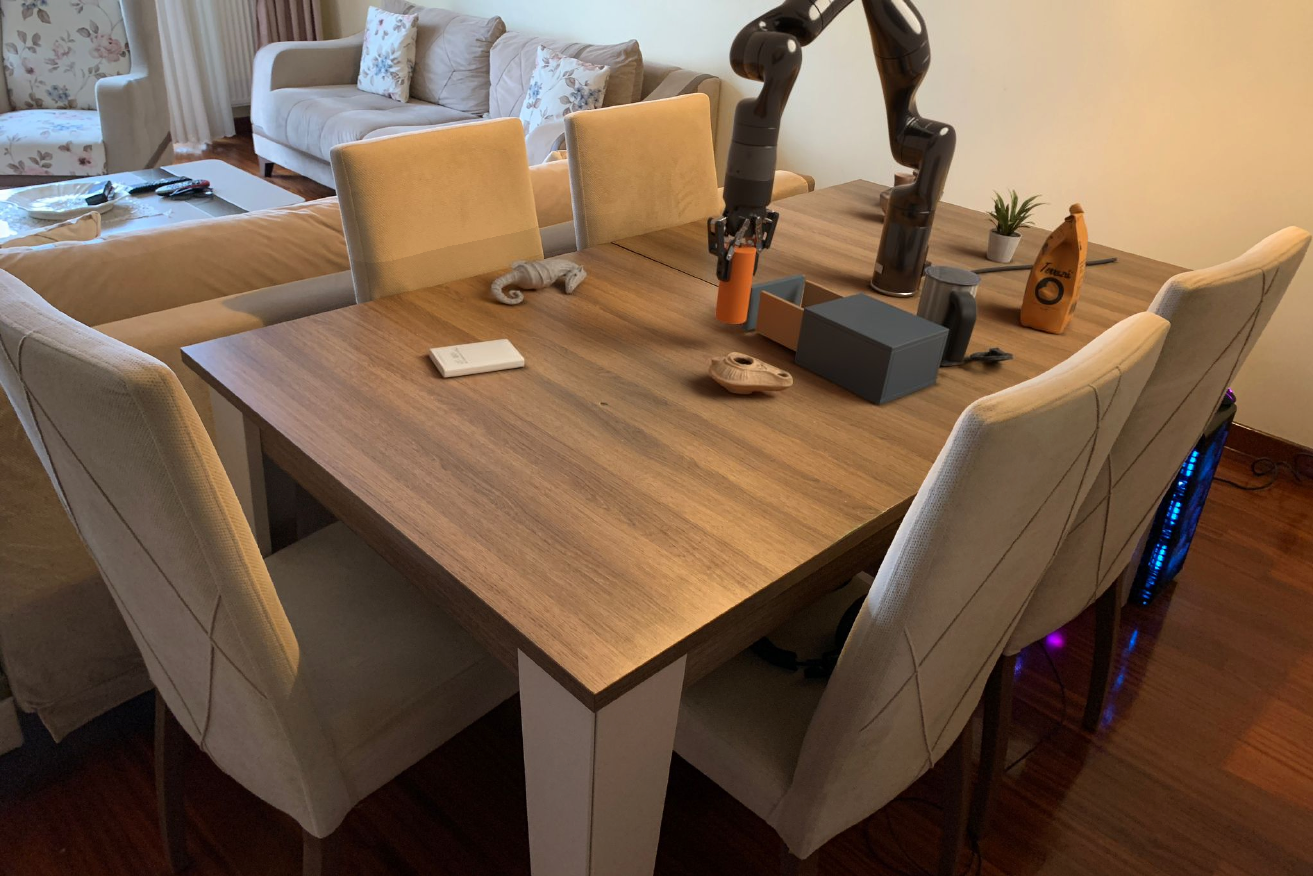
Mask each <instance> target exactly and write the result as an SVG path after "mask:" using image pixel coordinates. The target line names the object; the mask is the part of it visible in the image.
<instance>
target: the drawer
mask: <svg viewBox="0 0 1313 876" xmlns="http://www.w3.org/2000/svg"><path fill="white" fill-rule="evenodd" d="M844 297H848V295H844V294H842V293H840V292H838V291H835V290H833V289H831V288H828V287H825V286H824V285H821V284H819V283H816V282H813V281H812V280H809V279H807V280H806V275H804V274H803V273H799V274H794V275H790V276H786V277H783V278H782V277H781V278H778V279H777V278H776V279H773V280H769V281H765V282H759V283H755V284H751V291H750V298H749V305H748V312H747V319H746V321H745V322H743V323H741V329H742V330H744V331H746V332H748V331H751V330H754V332H755V333H758V334H760V335H762V336H764V337H766V338H768V339H770V340H772V341H774V342H776V343H778V344H779V345H781V346H784V347H786V348H788V349H790V350H792V351H794V352H796V351H797V345H798V339H799V334H800V328H801V322H802V317H803V313H804V312H803V311H804V308H806V307H810V306H813V305H817V304H821V303H825V302H829V301H832V300H836V299H840V298H844Z"/></svg>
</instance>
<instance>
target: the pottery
mask: <svg viewBox="0 0 1313 876" xmlns="http://www.w3.org/2000/svg"><path fill="white" fill-rule="evenodd" d="M918 173H919V170H915V169H912V174H910V173H906V172H895V173H894V174H893V175H894V176H893V178H894V179H893V180H894V181H893V182H894V183H893V187H890V188H888V189H886V190H883V191H882V192H880V194H879V205H880V208H881V211H882V212H883V214H884V216H885V215H886V210H887V205H888V201H889V196H890V192H891V190H892V188H894V187H896V186H899V185H907V184H912V183H914V182H915V181H916V179H917V176H918ZM944 194H945V193H944V190H943V192H942V195H941V197H940V199H939V201H938V203H939V202H940V201H941V199H942V198H943V195H944ZM884 220H885V217H884V218H883V221H884Z"/></svg>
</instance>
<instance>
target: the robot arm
mask: <svg viewBox="0 0 1313 876" xmlns="http://www.w3.org/2000/svg"><path fill="white" fill-rule="evenodd" d="M860 1H861V4H862V9H863V12H864V16H865V19H866V24H867V27H868V28H867V29H868V31H869V36H870V42H871V47H872V53H873V57H874V63H875V66H876V70H877V73H878V77H879V81H880V85H881V90H882V95H883V100H884V106H885V107H884V108H885V112H886V113H885V114H886V122H887V132H888V140H889V141H888V142H889V148H890V153H891V156H892V158H893V160H894V161H895V162H896V164H898V165H900V166H903V167H904V168H908V169H911V170H914V169H915V170H919V173H918V176H917V179H916V181H915V182H914V183H912V184H907V185H899V186H896V187H894V186H893V187H894V188H892V187H891V188H892V190H891V192H890V196H889V201H888V205H887V210H886V215H885V214H884V218H885V220H884V219H883V225H882V230H881V235H880V238H879V244H878V249H877V253H876V259H875V263H874V268H873V272H872V278H871V280H870V284H869V285H870V287H871V289H872V290H874V291H876V292H877V293H880V294H883V295H885V296H889V297H897V298H898V297H899V298H909V297H914V296H915V295H917V294H918V291H919V290H920V286H921V282H922V278H925V275H926V273H925V269H926V268H927V267H930V266H932V264H933V263H932V261H929V260H927V258H928V253H929V249H930V245H929V241H930V237H931V234H932V233H931V232H932V228H933V225H934V219H935V215H936V211H937V207H938V205H939V202H940V201H939V199H940V197H941V195H942V192H943V191H944V190H945V186H946V183H947V178H948V176H949V172H950V168H951V165H952V163H953V159H954V155H955V151H956V148H957V132H956V129H955V127H954V126H953V125H951V124H949V123H947V122H942V121H939V120H934V119H930V118H926V117H922V116H921V114H920V113H919V110H918V105H917V98H916V95H917V92H918V90H919V89H920V88H921V85H922V83H923V82H924V80H925V78H926V77H927V75H928V72H929V69H930V65H931V63H932V51H931V44H930V39H929V34H928V29H927V24H926V22H925V19H924V17H923V15H922V14H921V12H920V11H919V9H918V8H917V6H916V5H915V4H914V2H913V1H912V0H860ZM853 2H855V0H784V1H783V2H782V3H781V4H780V5H778V6H776V7H774V8H772V9H770V10H768V11H766V12H765V13H762V14H761V15H759V16H757V17H756V18H755V19H753V20H752V21H750V22H748V23H747V24H746V25H744V26H743V27H742V28H741V29H740V30H739V32H737V34H736V36H735V37H734V39H733V40H732V43H731V46H730V48H729V55H728V56H729V57H728V58H729V65H730V67H731V70H732V71H733V72H734V74H735V75H736V76H738V77H740V78H742V79H745V80H751V81H755V82H760V83H763V86H762V88H761V90H760V91H759V94H758V96H757V97H756V96H755V97H744V98H742V99H739V100H738V101H737V103H736V104H735V108H734V114H733V120H732V128H731V129H732V130H731V138H730V143H729V147H728V151H727V157H726V164H725V173H724V182H723V190H722V199H723V201H724V209H723V211H722V214H721V216H719V217H716V218H714V217H711V216H710V217H709V218H708V219H707V221H706V225H707V226H706V227H707V229H706V230H707V247H708V249H707V250H708V253H709V254H710V255H713V256H714V257H717V263H716V269H715V270H716V271H715V275H716V278H717V280H721V281H723V282H728V281H729V280H730V273H731V265H732V260H731V258H732V256H733V254H734V251H735V249H736V247H738V246H739V245H740V243H741V242H742V240H743V239H744V240H745V244H749V245H752V246H754V247H755V248H756V256H755V263H754V270H753V277H755V276H756V272H757V270H758V267H759V259H760V255H761V254H762V252H763V251H764V250H765V249H766V250H769V249H770V248H771V246H772V242H773V239H774V236H775V232H776V228H777V225H778V222H779V218H780V213H779V212H778V211H775V210H772V209H769V208H767V207H768V206H770V205H771V204H772V197H773V190H774V185H775V184H774V183H775V176H776V169H777V164H778V163H777V162H778V143H779V137H780V131H781V125H782V124H781V123H782V117H783V115H784V112H785V109H786V107H787V104H788V102H789V99H790V96H791V94H792V92H793V89H794V87H795V84H796V82H797V80H798V77H799V75H800V72H801V69H802V64H803V49H802V48H805V47H807V46H809V45H811V44H812V43H813V42H815V40H816V39H817V38H819V36H820V35H821V34H822V33H823V32H824V31H825V30H826V29H827V28H828V26H830V25H831V23H832V22H834V20H835V19H836V18H837V17H838V16H839V15H840V14H841V13H843V11H844V10H846V8H848V6H850V5H851V4H853ZM940 200H941V199H940ZM938 201H939V202H938ZM765 233H766V235H765ZM729 236H730V237H732V238H729ZM764 236H765V239H764ZM727 244H729V247H728V249H727V251H725V249H726V246H727ZM1116 261H1118V258H1117V257H1112V258H1106V259H1105V258H1104V259H1099V260H1089V261H1086V265H1085V266H1090V265H1099V264H1106V263H1111V262H1116ZM1033 265H1034V264H1023V265H1006V266H997V267H996V266H995V267H987V268H986V267H985V268H979V269H974V270H970V271H971V272H973V273H975V274H981V273H988V272H999V271H1011V270H1025V269H1032V267H1033Z"/></svg>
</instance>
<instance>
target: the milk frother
mask: <svg viewBox="0 0 1313 876" xmlns="http://www.w3.org/2000/svg"><path fill="white" fill-rule="evenodd" d="M971 271H972V270H968V269H965V268H961V267H960V268H959V267H957V266H956V267H955V266H949V265H931V266H930V267H927V268H926V269H925V273H926V275H925V276H924V279H923V283H922V288H921V293H920V296H919V301H918V305H917V311H916V314H915V315H916V316H919V317H921V318H924V319H926V320H928V321H931V322H933V323H936V324H938V325H940V326H943V327H945V328H948V329H949V332H948V336H947V340H946V344H945V348H944V352H943V355H942V359H941V363H940V366H941V367H952V366H956V365H958V364H960V363H962V362H989V363H990V364H997V363H1000V362H1004V361H1011V360H1013V359H1014V354H1013V353H1010V352H1005V351H1003V350H1001V349H1000V347H990V348H989V349H988V350H987V351H980V352H979V351H978V352H973V353H971V354H969V356H966V354H967V350H968V347H969V344H970V341H971V338H972V335H973V332H974V328H975V326H976V322H977V317H978V304H977V301H976V295H977V292H978V287H979V284H980V283H982V280H983V279H982V278H981V276H980V275H979V274H978V273H976V274H975V273H973V272H971Z"/></svg>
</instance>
